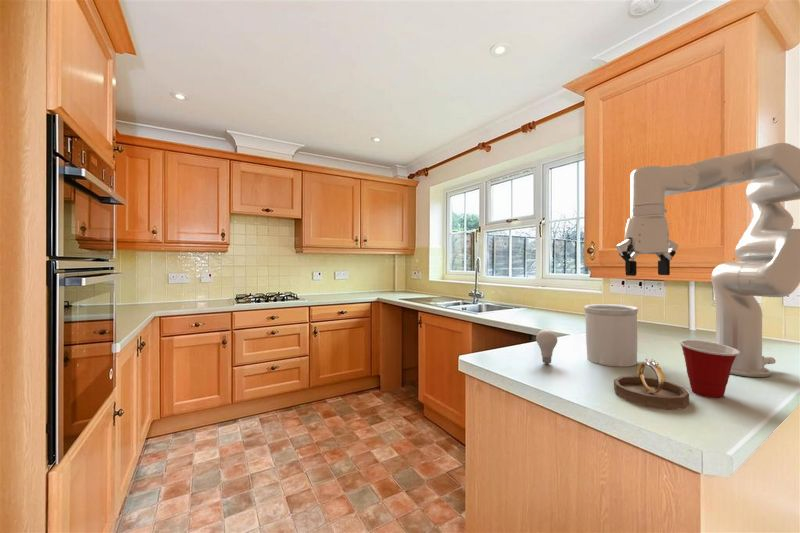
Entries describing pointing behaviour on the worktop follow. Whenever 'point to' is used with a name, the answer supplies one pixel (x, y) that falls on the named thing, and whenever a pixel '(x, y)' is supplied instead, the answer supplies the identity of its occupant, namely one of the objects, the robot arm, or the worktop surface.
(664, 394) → the ring dish
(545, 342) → the lightbulb
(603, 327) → the utensil holder
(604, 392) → the worktop surface
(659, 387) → the gold round band
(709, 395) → the plastic cup
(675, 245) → the robot arm
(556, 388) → the worktop surface
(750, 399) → the worktop surface
